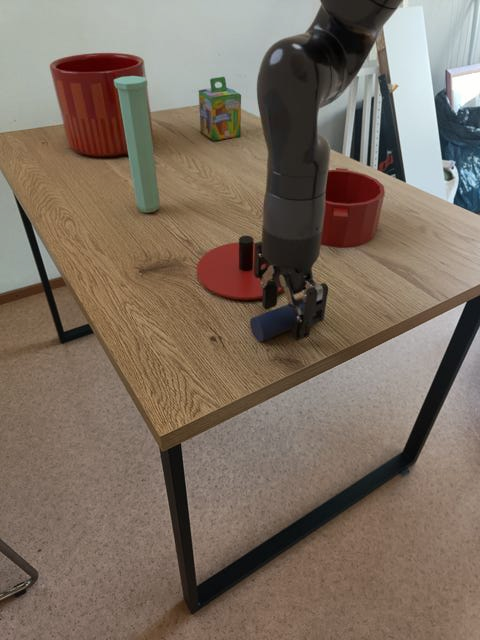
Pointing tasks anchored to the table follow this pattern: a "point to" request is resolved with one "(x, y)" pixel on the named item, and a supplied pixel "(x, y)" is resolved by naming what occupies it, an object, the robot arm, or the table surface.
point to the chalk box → (220, 111)
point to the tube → (273, 322)
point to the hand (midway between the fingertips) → (284, 321)
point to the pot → (351, 208)
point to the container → (139, 140)
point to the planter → (94, 100)
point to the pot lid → (231, 270)
